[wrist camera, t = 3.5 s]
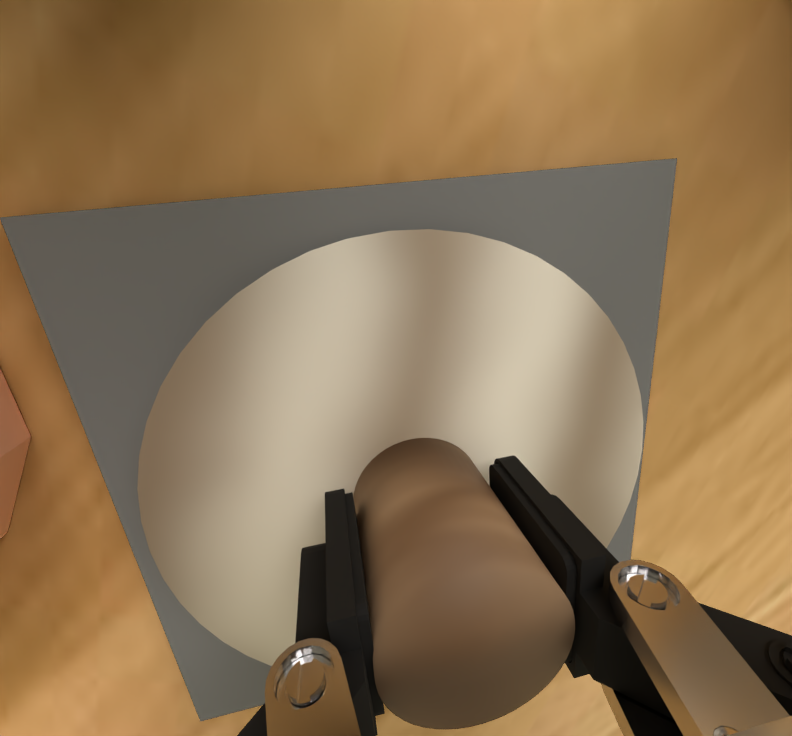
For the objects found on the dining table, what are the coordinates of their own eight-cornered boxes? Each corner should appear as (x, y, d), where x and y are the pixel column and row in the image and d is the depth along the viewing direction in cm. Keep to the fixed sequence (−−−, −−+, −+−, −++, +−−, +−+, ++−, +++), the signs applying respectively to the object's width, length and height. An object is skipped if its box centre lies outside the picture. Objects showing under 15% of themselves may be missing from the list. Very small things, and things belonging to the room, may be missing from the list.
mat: (662, 161, 12) (677, 158, 12) (616, 599, 18) (624, 608, 17) (15, 218, 10) (-1, 217, 9) (204, 706, 15) (200, 721, 15)
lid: (636, 203, 12) (940, 165, 6) (603, 594, 17) (753, 779, 11) (73, 266, 10) (-299, 300, 4) (227, 692, 15) (165, 988, 9)
